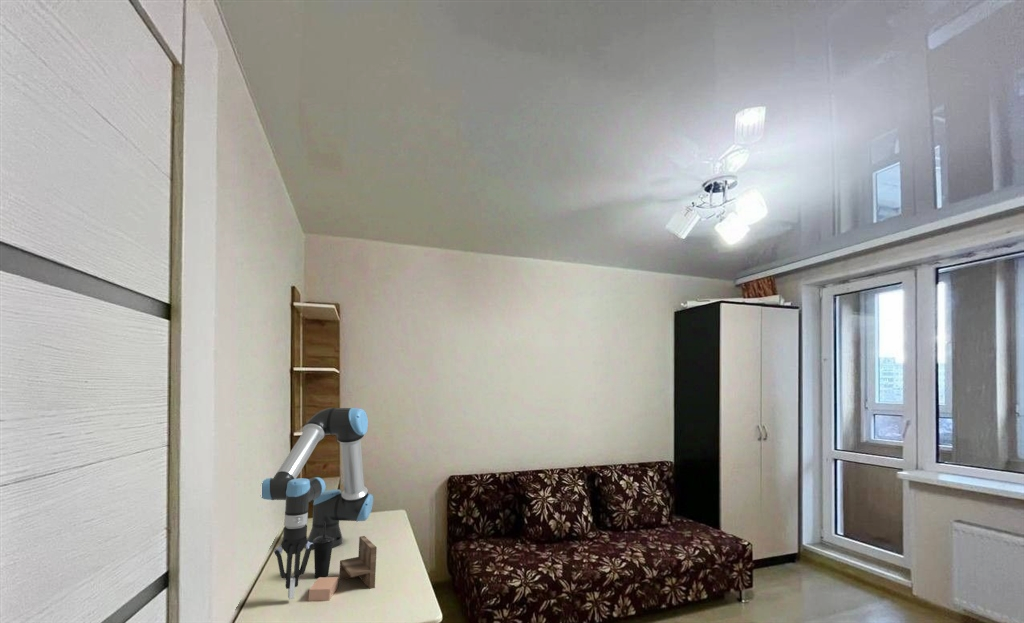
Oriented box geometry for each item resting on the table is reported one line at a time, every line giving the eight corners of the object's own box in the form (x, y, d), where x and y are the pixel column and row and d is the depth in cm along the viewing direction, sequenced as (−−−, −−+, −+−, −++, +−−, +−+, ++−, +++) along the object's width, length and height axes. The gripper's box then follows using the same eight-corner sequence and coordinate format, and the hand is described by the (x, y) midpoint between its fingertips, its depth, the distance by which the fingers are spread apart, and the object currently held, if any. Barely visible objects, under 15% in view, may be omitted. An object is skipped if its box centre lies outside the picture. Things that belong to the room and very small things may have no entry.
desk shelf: (339, 578, 182) (341, 539, 184) (362, 573, 187) (364, 535, 189) (349, 593, 170) (352, 552, 172) (374, 587, 175) (376, 547, 177)
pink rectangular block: (308, 601, 164) (309, 589, 165) (318, 589, 174) (318, 577, 175) (329, 601, 165) (329, 589, 165) (337, 588, 174) (338, 577, 175)
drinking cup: (336, 573, 187) (339, 520, 190) (322, 581, 180) (325, 525, 182) (320, 570, 189) (323, 518, 192) (306, 578, 182) (309, 523, 185)
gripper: (276, 531, 160) (271, 606, 157) (317, 525, 167) (313, 597, 164) (273, 525, 166) (268, 597, 163) (313, 519, 173) (308, 588, 170)
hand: (290, 597), depth 164 cm, fingers closed
